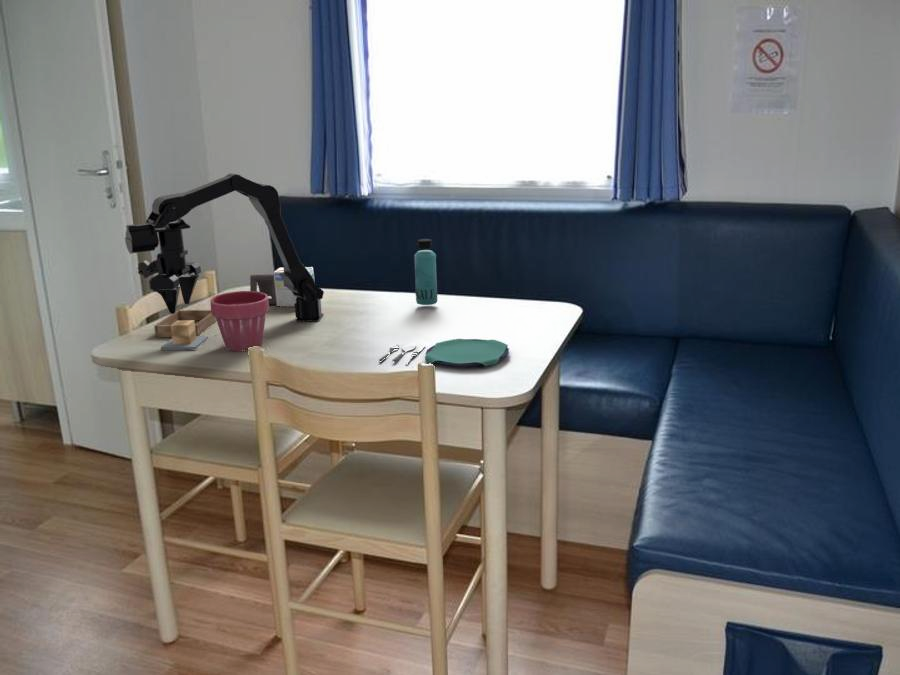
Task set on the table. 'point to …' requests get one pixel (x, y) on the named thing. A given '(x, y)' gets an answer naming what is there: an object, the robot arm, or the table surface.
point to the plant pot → (240, 318)
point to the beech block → (183, 332)
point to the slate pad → (193, 345)
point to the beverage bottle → (425, 274)
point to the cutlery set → (464, 352)
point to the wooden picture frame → (202, 315)
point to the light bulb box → (285, 289)
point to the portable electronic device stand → (264, 286)
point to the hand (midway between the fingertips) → (180, 308)
